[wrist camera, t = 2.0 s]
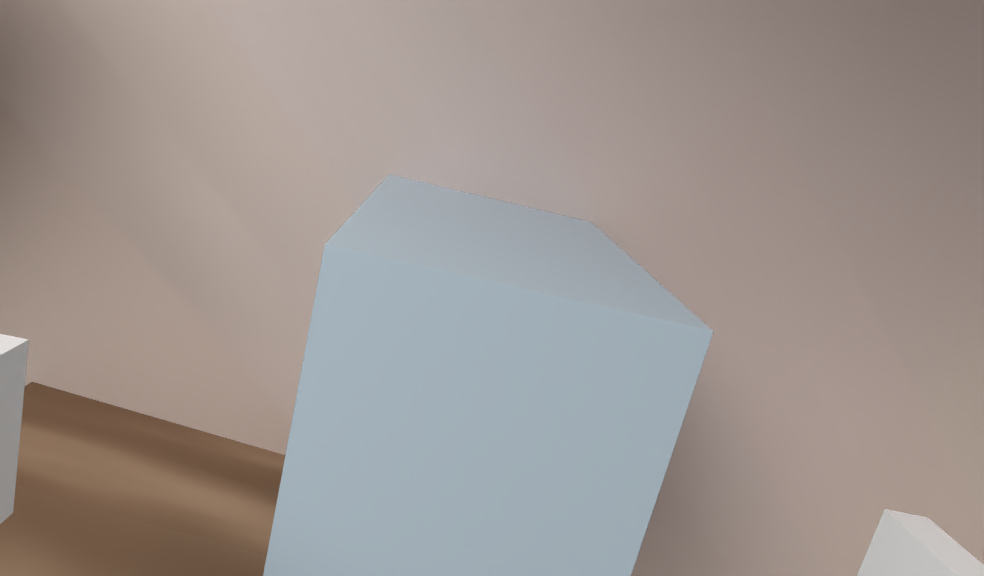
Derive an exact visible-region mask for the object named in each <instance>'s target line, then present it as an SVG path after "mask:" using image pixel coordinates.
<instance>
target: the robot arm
mask: <svg viewBox="0 0 984 576" xmlns="http://www.w3.org/2000/svg"><path fill="white" fill-rule="evenodd" d="M28 343H29V340H28V339H23V338H18V337H13V336H8V335H3V334H0V524H1V523H2V522H3V521H4V520H5V519H7V518H8V517H9V516H10V515H11V514H12V513H13V508H14V497H15V486H16V475H17V464H18V453H19V442H20V431H21V420H22V409H23V398H24V387H25V376H26V365H27V354H28ZM857 576H984V565H983V564H982V563H981V562H980V561H978V560H977V559H976V558H975V557H974V556H973V555H971V554H970V553H969V552H968V551H967V550H965V549H964V548H963V547H962V546H961V545H960V544H958V543H957V542H956V541H955V540H954V539H953V538H951V537H950V536H949V535H948V534H947V533H945V532H944V531H943V530H942V529H941V528H940V527H938V526H937V525H936V524H935V523H934V522H933V521H931V520H930V519H929V518H928V517H923V516H918V515H913V514H908V513H903V512H898V511H893V510H888V509H885V510H884V512H883V515H882V517H881V519H880V522H879V524H878V527H877V529H876V531H875V534H874V536H873V539H872V541H871V543H870V546H869V548H868V551H867V553H866V555H865V558H864V560H863V563H862V565H861V567H860V570H859V572H858V575H857Z"/></svg>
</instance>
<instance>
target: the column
mask: <svg viewBox="0 0 984 576" xmlns="http://www.w3.org/2000/svg"><path fill="white" fill-rule="evenodd" d="M712 334H713V331H712V330H711V329H710V328H709V327H708V326H707V325H706V324H705V323H704V322H702V321H701V320H700V319H699V318H698V317H697V316H696V315H695V314H693V313H692V312H691V311H690V310H689V309H688V308H687V307H686V306H685V305H683V304H682V303H681V302H680V301H679V300H678V299H677V298H676V297H675V296H673V295H672V294H671V293H670V292H669V291H668V290H667V289H666V288H664V287H663V286H662V285H661V284H660V283H659V282H658V281H657V280H656V279H654V278H653V277H652V276H651V275H650V274H649V273H648V272H647V271H646V270H644V269H643V268H642V267H641V266H640V265H639V264H638V263H637V262H635V261H634V260H633V259H632V258H631V257H630V256H629V255H628V254H627V253H625V252H624V251H623V250H622V249H621V248H620V247H619V246H618V245H616V244H615V243H614V242H613V241H612V240H611V239H610V238H609V237H608V236H606V235H605V234H604V233H603V232H602V231H601V230H600V229H599V228H598V227H596V226H595V225H594V224H593V223H592V222H589V221H584V220H580V219H576V218H572V217H567V216H563V215H559V214H555V213H551V212H546V211H542V210H538V209H534V208H530V207H525V206H521V205H517V204H513V203H508V202H504V201H500V200H496V199H492V198H487V197H483V196H479V195H475V194H471V193H466V192H462V191H458V190H454V189H449V188H445V187H441V186H437V185H433V184H428V183H424V182H420V181H416V180H412V179H407V178H403V177H399V176H395V175H390V174H389V175H388V177H387V178H386V179H385V180H384V181H383V182H382V183H381V184H380V185H379V186H378V187H377V188H376V190H375V191H374V192H373V193H372V194H371V195H370V196H369V197H368V198H367V199H366V200H365V201H364V203H363V204H362V205H361V206H360V207H359V208H358V209H357V210H356V211H355V212H354V213H353V214H352V216H351V217H350V218H349V219H348V220H347V221H346V222H345V223H344V224H343V225H342V226H341V227H340V229H339V230H338V231H337V232H336V233H335V234H334V235H333V236H332V237H331V238H330V239H329V240H328V242H327V243H326V244H325V246H324V252H323V257H322V262H321V268H320V273H319V278H318V284H317V289H316V295H315V300H314V305H313V311H312V316H311V321H310V327H309V332H308V337H307V343H306V348H305V354H304V359H303V364H302V370H301V375H300V380H299V386H298V391H297V396H296V402H295V407H294V412H293V418H292V423H291V429H290V434H289V439H288V445H287V450H286V455H285V461H284V466H283V471H282V477H281V482H280V487H279V493H278V498H277V504H276V509H275V514H274V520H273V525H272V530H271V536H270V541H269V546H268V552H267V557H266V563H265V568H264V573H263V576H631V573H632V570H633V567H634V565H635V562H636V559H637V556H638V553H639V550H640V547H641V544H642V541H643V538H644V535H645V532H646V529H647V526H648V523H649V520H650V517H651V514H652V511H653V508H654V506H655V503H656V500H657V497H658V494H659V491H660V488H661V485H662V482H663V479H664V476H665V473H666V470H667V467H668V464H669V461H670V458H671V455H672V452H673V449H674V446H675V444H676V441H677V438H678V435H679V432H680V429H681V426H682V423H683V420H684V417H685V414H686V411H687V408H688V405H689V402H690V399H691V396H692V393H693V390H694V387H695V384H696V382H697V379H698V376H699V373H700V370H701V367H702V364H703V361H704V358H705V355H706V352H707V349H708V346H709V343H710V340H711V337H712Z"/></svg>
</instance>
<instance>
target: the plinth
mask: <svg viewBox="0 0 984 576" xmlns="http://www.w3.org/2000/svg"><path fill="white" fill-rule="evenodd" d="M284 461H285V455H282V454H278V453H275V452H271V451H268V450H265V449H261V448H258V447H254V446H251V445H247V444H244V443H240V442H237V441H234V440H230V439H227V438H223V437H220V436H216V435H213V434H209V433H206V432H203V431H199V430H196V429H192V428H189V427H185V426H182V425H179V424H175V423H172V422H168V421H165V420H161V419H158V418H154V417H151V416H148V415H144V414H141V413H137V412H134V411H130V410H127V409H123V408H120V407H117V406H113V405H110V404H106V403H103V402H99V401H96V400H93V399H89V398H86V397H82V396H79V395H75V394H72V393H68V392H65V391H62V390H58V389H55V388H51V387H48V386H44V385H41V384H37V383H34V382H31V383H30V384H28V385H27V386H25V387H24V398H23V409H22V420H21V431H20V442H19V453H18V464H17V475H16V486H15V497H14V508H13V513H12V514H11V515H10V516H9V517H8V518H7V519H5V520H4V521H3V522H2V523H1V524H0V576H263V573H264V568H265V563H266V557H267V552H268V546H269V541H270V536H271V530H272V525H273V520H274V514H275V509H276V504H277V498H278V493H279V487H280V482H281V477H282V471H283V466H284Z"/></svg>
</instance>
